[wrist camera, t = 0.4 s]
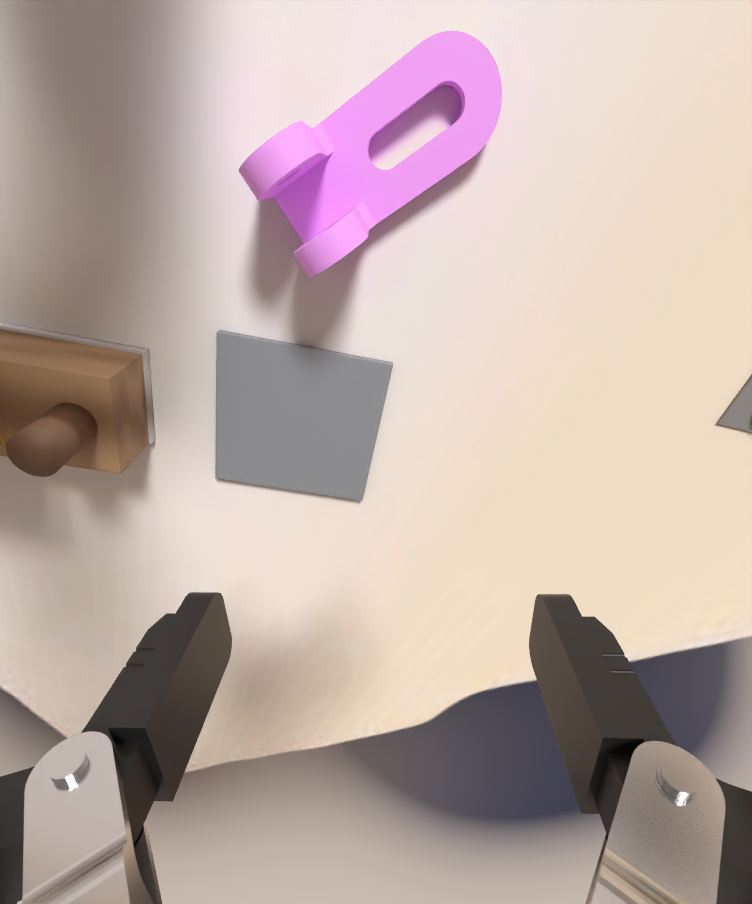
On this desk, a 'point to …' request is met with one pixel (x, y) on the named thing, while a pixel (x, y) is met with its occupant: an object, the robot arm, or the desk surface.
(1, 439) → the lever cap
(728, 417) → the gear board
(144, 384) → the plane body
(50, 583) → the desk surface
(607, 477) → the desk surface
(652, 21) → the desk surface
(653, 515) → the desk surface
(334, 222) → the bracket
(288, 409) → the mat
